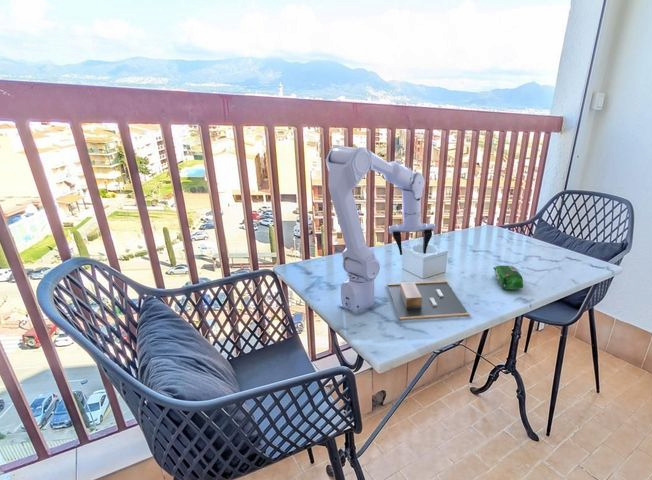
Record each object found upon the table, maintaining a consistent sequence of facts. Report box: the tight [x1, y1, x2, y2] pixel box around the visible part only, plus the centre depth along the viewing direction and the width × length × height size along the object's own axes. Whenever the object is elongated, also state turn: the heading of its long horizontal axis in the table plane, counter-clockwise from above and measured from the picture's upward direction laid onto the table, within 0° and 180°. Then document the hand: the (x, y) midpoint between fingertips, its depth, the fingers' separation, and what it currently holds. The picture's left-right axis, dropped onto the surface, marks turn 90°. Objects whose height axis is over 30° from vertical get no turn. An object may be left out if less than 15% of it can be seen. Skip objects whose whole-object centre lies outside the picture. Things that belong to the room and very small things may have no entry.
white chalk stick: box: [436, 289, 443, 297], centre depth 125 cm, size 1×5×1 cm, turn 10°
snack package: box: [493, 265, 524, 290], centre depth 134 cm, size 7×16×5 cm, turn 2°
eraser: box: [399, 281, 422, 309], centre depth 120 cm, size 4×12×4 cm, turn 10°
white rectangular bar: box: [430, 298, 437, 307], centre depth 119 cm, size 1×5×1 cm, turn 10°
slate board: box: [387, 280, 471, 321], centre depth 122 cm, size 20×25×1 cm
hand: (412, 253), depth 130 cm, fingers open, 7 cm apart
